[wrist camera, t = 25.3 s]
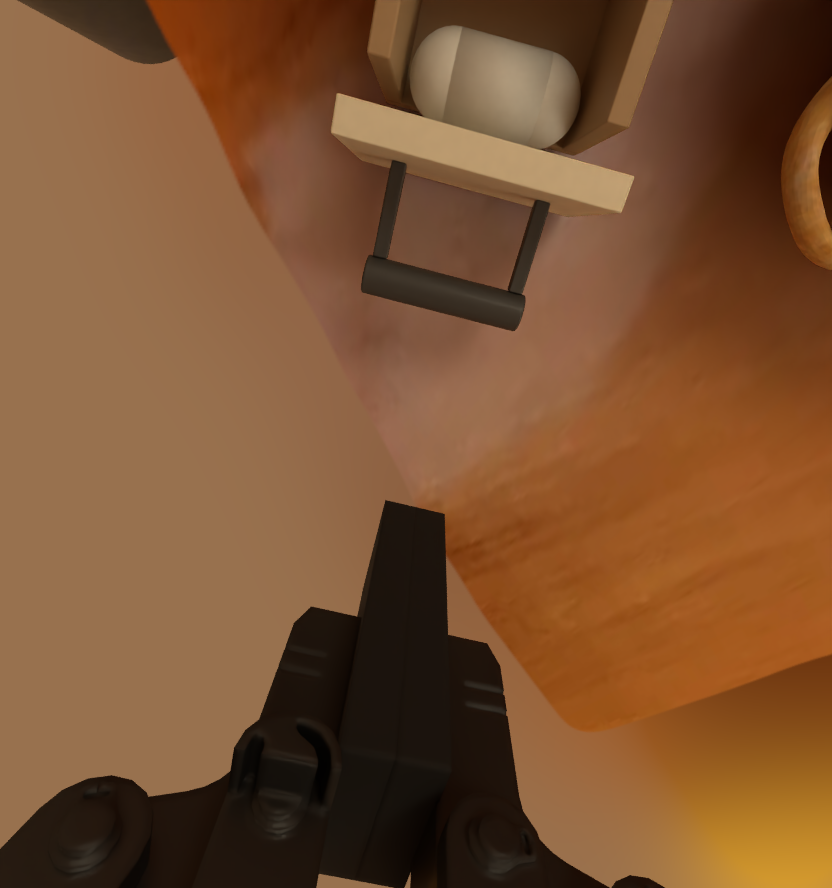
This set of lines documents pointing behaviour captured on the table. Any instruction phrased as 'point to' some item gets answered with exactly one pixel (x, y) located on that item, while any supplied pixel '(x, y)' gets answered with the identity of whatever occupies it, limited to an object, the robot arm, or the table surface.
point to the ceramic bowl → (808, 180)
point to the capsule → (495, 86)
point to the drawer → (489, 158)
